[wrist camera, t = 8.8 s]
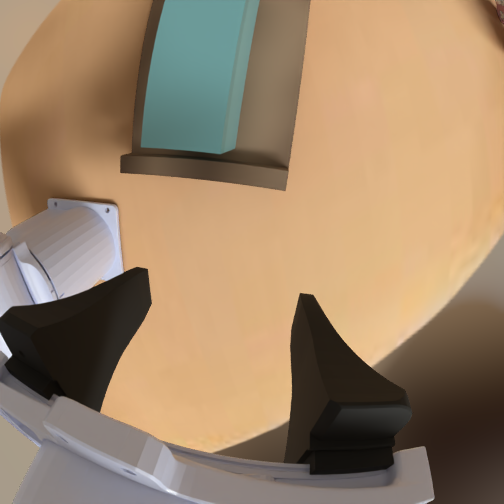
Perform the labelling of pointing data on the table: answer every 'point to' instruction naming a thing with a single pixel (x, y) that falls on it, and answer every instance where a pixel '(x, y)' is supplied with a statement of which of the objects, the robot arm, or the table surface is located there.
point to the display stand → (252, 109)
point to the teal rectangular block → (198, 75)
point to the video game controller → (500, 9)
